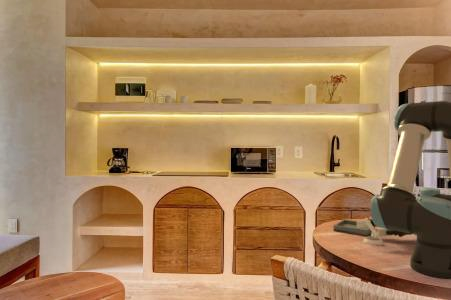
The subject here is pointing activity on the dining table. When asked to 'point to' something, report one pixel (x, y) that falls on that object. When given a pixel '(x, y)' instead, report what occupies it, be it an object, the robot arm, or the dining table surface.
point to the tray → (351, 227)
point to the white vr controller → (372, 235)
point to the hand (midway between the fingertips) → (367, 228)
